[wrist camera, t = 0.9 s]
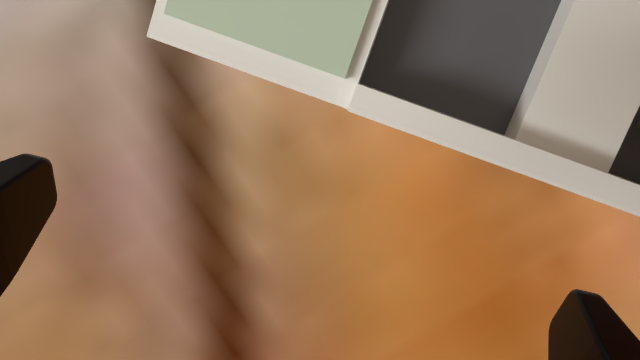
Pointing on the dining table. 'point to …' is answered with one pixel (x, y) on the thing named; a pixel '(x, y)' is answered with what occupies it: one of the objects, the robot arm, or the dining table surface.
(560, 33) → the box
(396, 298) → the dining table surface
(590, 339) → the robot arm
